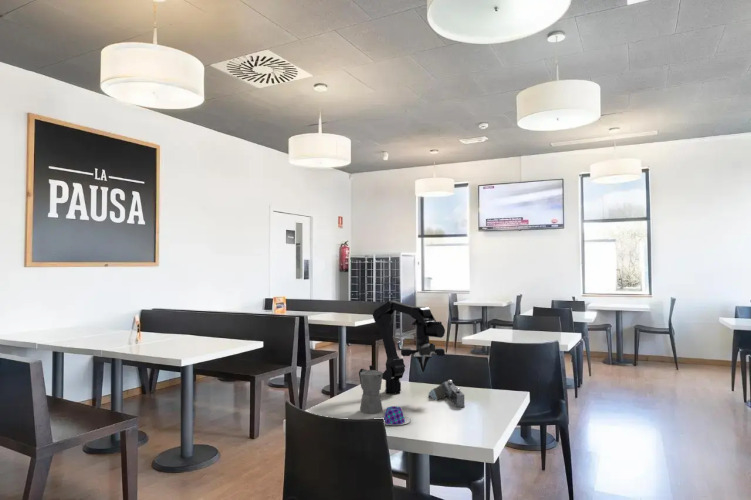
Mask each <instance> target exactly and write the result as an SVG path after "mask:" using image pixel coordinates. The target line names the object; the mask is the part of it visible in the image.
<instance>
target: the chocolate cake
mask: <svg viewBox="0 0 751 500" xmlns="http://www.w3.org/2000/svg"><path fill="white" fill-rule="evenodd" d="M445 382H446V381H444V382H442V383H440V385H438V386H437V387H434V388H433V389H431V390H430V391H429V392H428V394H427V395H428V398H432V399H433V400H437V401H438V400H441V399H443V398H447V399H450V394H449V391H448V388H447V387H446V385H445Z"/></svg>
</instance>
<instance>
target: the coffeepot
mask: <svg viewBox="0 0 751 500" xmlns="http://www.w3.org/2000/svg"><path fill="white" fill-rule="evenodd" d="M368 367H369V369H364V368H360V369H359V372H358V375H359V383H360V388H361V389H362V395H361V401H360V408H359V410H360V412H361V413H363V414H369V415H372V414H373V415H374V414H380V413H381V412H383V410H384V409H383V405H382V398H381V394H380V390H381V388H382V384H383V383H382V380H383V378H382V376H383V373H384V372H382V371H381V370H374V365H372V364H371V365H368Z"/></svg>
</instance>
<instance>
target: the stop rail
mask: <svg viewBox="0 0 751 500" xmlns="http://www.w3.org/2000/svg"><path fill="white" fill-rule="evenodd" d="M444 382H445V385H446V387H447V388H448V391H449V394H450V398H449V400H451V402H452V403H453V404H454V405H455V406H456V408H465V394H464V393H463V392H462V391H461V387H457V386H456V385H455V383H453V380H452V379H448V380H447V381H444Z"/></svg>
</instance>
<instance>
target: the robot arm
mask: <svg viewBox="0 0 751 500" xmlns="http://www.w3.org/2000/svg"><path fill="white" fill-rule="evenodd" d="M395 312H398V313H403V314H406V315H409V316H410V317H411V319H414V321H412V324H411V326H415V349H411V348H410V347H402V348H401V349H400V355H401V357H410V356H412V355H413V357H414V358H415V359H417V362H418V364H419V368H420V370H421V372H422V373H424V372H425V369H426V366H427V363H428V362H429V359H431V358H433V356H432V355H436V356H438V357H444V356H446V351H445V349H444V348H443V347H436V344H435V343H434V342H432V343H431V342H430V338H440V339H441V338H443V337H444V336H445V333H446V329H445V327H444V325H443V324H442V321H437V320H436V318H435V317H434V315H433V313H432V311H431V309H430V307H428V306H414V305H410V304H408V303H404V302H400V301H397V300H388V301H386V302H385V303H384V304H382V305H380V306H379V307H378V308H375V310H373V313H372V318H373V320H374V323H375V324H376V326H377V327H378V328H379V331H380V334H381V338H382V343H383V347H384V350H385V354H386V360H385V370H384V371H383V372H382V373H383V376H382V380H384V381H385V389H384V392H385V394H387V395H388V394H390V395H391V394H392V395H393V394H401V392H402V391H401V390H402V388H401V387H402V384H401V381H400V380H401V379H402V378H403V376H404V374H405V371H406V364H405V362H404V358H400V357H399V355H398V352H397V348H396V345H395V344H396V343H395V340H394V336H393V332H392V328H391V323H392V315H394V313H395Z"/></svg>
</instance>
